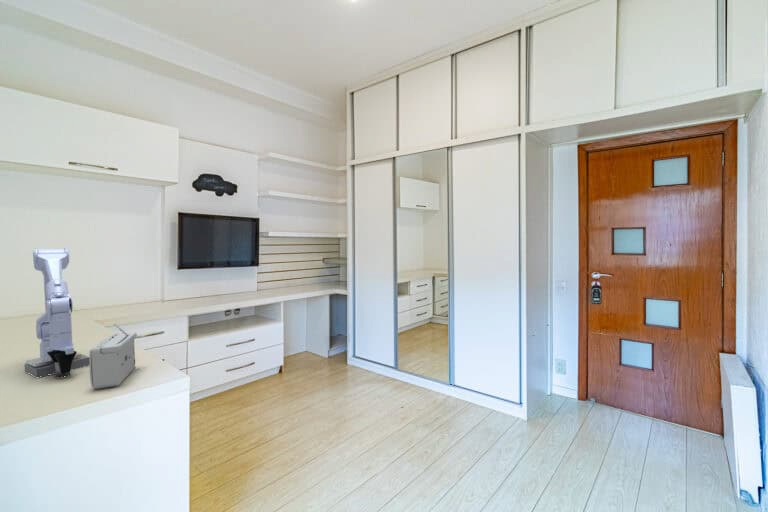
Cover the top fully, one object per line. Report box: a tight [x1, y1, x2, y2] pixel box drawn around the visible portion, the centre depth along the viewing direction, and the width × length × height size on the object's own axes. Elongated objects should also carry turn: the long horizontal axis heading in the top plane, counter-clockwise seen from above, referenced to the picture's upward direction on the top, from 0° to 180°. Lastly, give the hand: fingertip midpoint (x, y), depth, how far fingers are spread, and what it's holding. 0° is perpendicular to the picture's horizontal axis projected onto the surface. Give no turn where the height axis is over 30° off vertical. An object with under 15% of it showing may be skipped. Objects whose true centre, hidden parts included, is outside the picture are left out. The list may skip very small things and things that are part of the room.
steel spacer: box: [54, 361, 72, 378], centre depth 127 cm, size 4×4×5 cm
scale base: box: [24, 353, 89, 378], centre depth 135 cm, size 12×15×3 cm
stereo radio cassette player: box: [88, 323, 138, 390], centre depth 124 cm, size 21×8×20 cm, turn 21°
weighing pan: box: [26, 352, 82, 367], centre depth 134 cm, size 8×13×1 cm, turn 148°
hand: (62, 371), depth 128 cm, fingers closed on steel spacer, 4 cm apart
